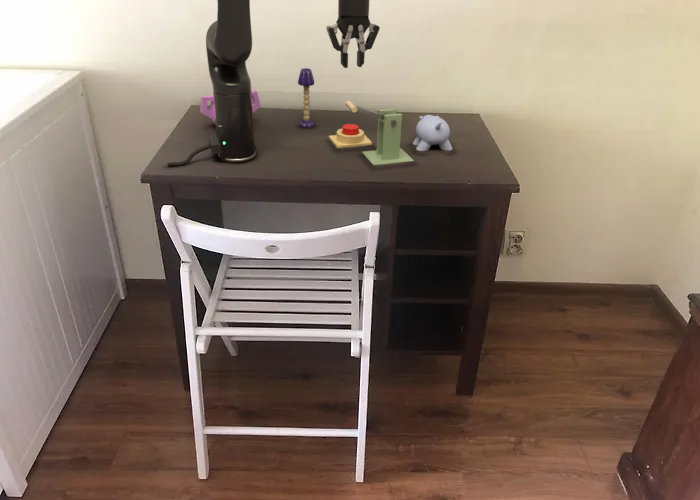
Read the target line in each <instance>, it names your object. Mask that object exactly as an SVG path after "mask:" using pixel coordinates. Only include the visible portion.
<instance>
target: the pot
mask: <svg viewBox="0 0 700 500" xmlns="http://www.w3.org/2000/svg"><path fill="white" fill-rule="evenodd" d="M251 91H252V108H253V113H255V112H256V111H257V110H258V109H259V108H260V107H261V106H262V105H261V101H260V98H259V94H258V91H257V90H256V89H251ZM208 102H210V103H209V108H208ZM199 112H200V113H201V114H202V115H203V116H205V117H208V118H210V120H211V121H212V123H213V124H214V125H215V118H216V116H215V105H214V94H213V93H212V95H201V98H200V108H199Z"/></svg>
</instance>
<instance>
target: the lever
mask: <svg viewBox="0 0 700 500" xmlns="http://www.w3.org/2000/svg"><path fill="white" fill-rule="evenodd" d="M345 107H347V108H348V109H349V110H350V111H351V112H352V113H357V112H358V113H362V114H365V115H368V116H371V117H374V118H377V119H378V118H380V119H382V121H383V122H384V115H389V114H390V113H387V112H385V114H384V115H383V114H380V113H378V112H377V111H374V110H370V109H367V108H364V107H362V106H359V105H356V104H354V103H353V102H352V101H350V100H347V101H345Z"/></svg>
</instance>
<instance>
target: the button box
mask: <svg viewBox="0 0 700 500" xmlns="http://www.w3.org/2000/svg"><path fill="white" fill-rule="evenodd" d="M328 139H329V140H330V142H331V143H332V144H333V145H334V146H335V148H336V149H342V148H344V149H345V148H353V147H363V146H372V145H373V142H372V140H370V139H369V137H368V136H367V135H366V134H365V131H364V130H363V129H360V128H359V133H358V134H357V135H345V134H342V128H339V129H337V131H336V134H334V135H328Z"/></svg>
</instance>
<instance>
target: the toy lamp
mask: <svg viewBox="0 0 700 500" xmlns="http://www.w3.org/2000/svg"><path fill="white" fill-rule="evenodd" d="M314 78H315V77H314V75H313V71H312V69H311V68H307V67H306V68H305V67H304V68H301V69H300V71H299V75H298V79H297V84H298V85H299V86H302V87H303V91H302V93H303V119H302V120H301V121H300V122H299V127H300V128H301V129H312V128H314V127H315V124H314V121H313V120H311V119H310V108H311V107H310V102H311V101H310V99H311V98H310V97H311V96H310V87H313V86H314V85H315V79H314Z"/></svg>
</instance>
